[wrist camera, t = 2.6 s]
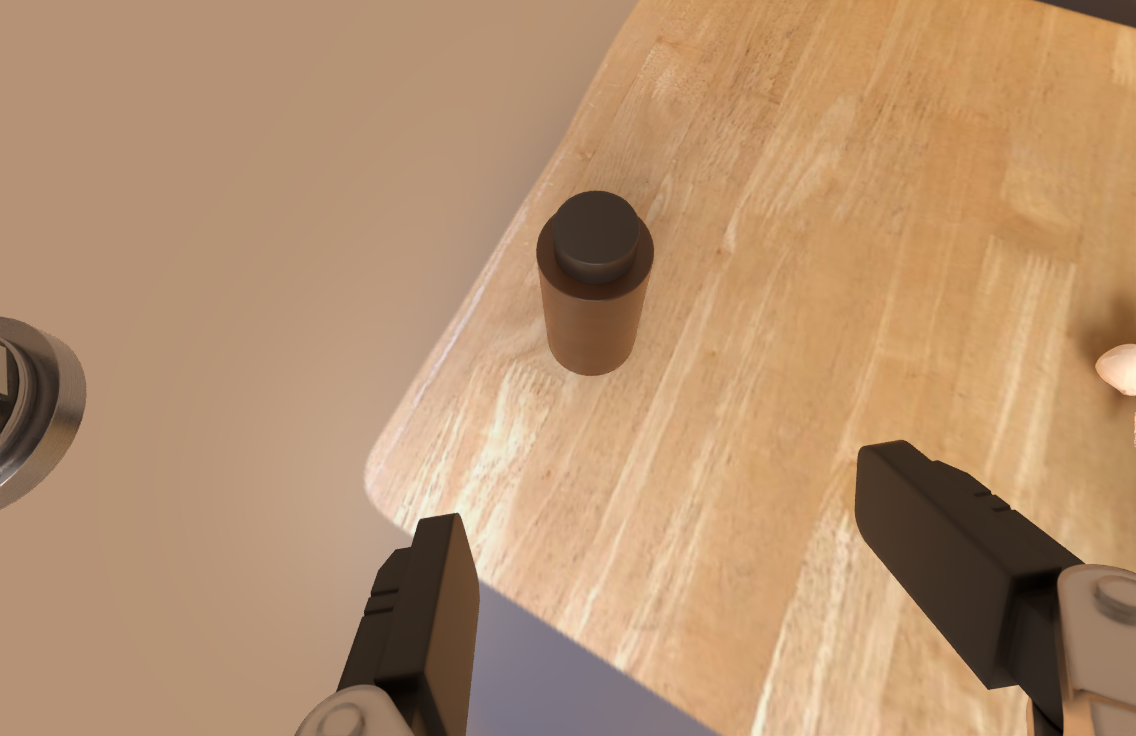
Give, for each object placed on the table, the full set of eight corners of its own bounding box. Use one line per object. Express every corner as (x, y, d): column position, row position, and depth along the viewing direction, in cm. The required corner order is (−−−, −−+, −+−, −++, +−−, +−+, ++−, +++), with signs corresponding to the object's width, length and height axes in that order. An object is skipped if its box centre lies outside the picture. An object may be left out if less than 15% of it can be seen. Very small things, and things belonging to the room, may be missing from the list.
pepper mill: (575, 391, 29) (572, 304, 19) (532, 321, 30) (511, 207, 21) (650, 349, 29) (684, 245, 20) (605, 282, 31) (617, 156, 21)
